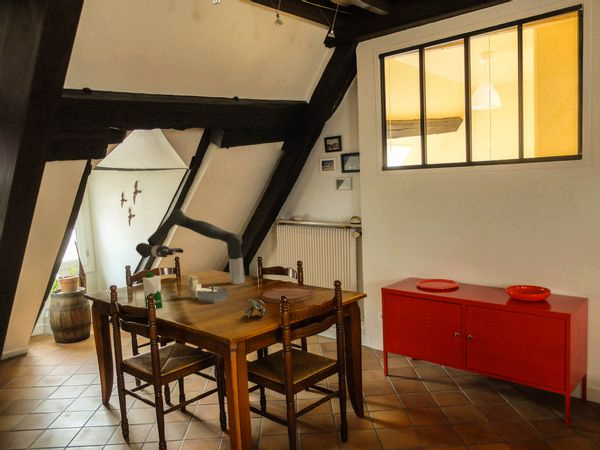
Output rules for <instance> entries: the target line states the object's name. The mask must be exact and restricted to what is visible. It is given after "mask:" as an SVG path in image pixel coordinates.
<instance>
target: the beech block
mask: <svg viewBox="0 0 600 450" xmlns="http://www.w3.org/2000/svg"><path fill="white" fill-rule="evenodd" d="M186 281H187V294H188V298H189V299H198V297H195V285H198V284H199V276H198V275H189V276H186Z"/></svg>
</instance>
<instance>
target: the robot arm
mask: <svg viewBox="0 0 600 450" xmlns="http://www.w3.org/2000/svg"><path fill="white" fill-rule="evenodd" d="M175 226H178V227H182V228H184V229H185V228H186V229H188V230H191V231H193V232H194V233H197V234H199V235H201V236H203V237H206V238H208V239H213V240H218V241H221V242H225V243H226V247H227V249H226V250H227V254H228V263H229V275H230V276H229V279H230V284H232V285H241V284H245V282H246V281H245V280H246V279H245V269H244V260H243V253H242V246H241V245H242V244H243V238H242V237H241V236H240V235H239V234H236V233H233V232H229V231H227V230H225V229H222V228H220V227H218V226H216V225H214V224H212V223H209V222H207V221H204V220H198V219H193V218H191V217H189V216H187V215H185V213H184V211H183V210H181V209H174V210H172V212H171V213H170V214H169V216H168V217H167V219H166V220H165V221H164V222H162V224H161V225H160V226H159V227H158V228H157V230H155V231H154V232H153V234H151V235H150V236H149V237H148V238H147V242H148V243H146V242H140V243H138V244H137V245H136V246H135V250H136V252H137V253H138V254H139V256H141V258H142V259H147V258H149V257H156V258H167V257H168V256H173V255H176V254H179V253H180V254H183V253H184V249H183V248H180V247H173V248H171V247H170V248H169V247H168V246H167V245H159V244H160V243H161V242H162V241H163V240H164V238H165V237H166V236H167V234H168V233H169V231H170V230H171V229H172V228H173V227H175Z"/></svg>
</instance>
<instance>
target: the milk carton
mask: <svg viewBox="0 0 600 450" xmlns="http://www.w3.org/2000/svg"><path fill="white" fill-rule="evenodd" d="M161 279H162V278H161V276H157V275H154V273H153V272H148V273H147V272H146V273H145V277H142V282H143V292H144V303H145V308H146V307H147V296H148V295H149V294H153V295H154V300H155V305H156V309H155V310H158V309H163V308H162V307H163V298H162V288H161V285H162V284H161V281H162V280H161ZM157 308H158V309H157Z"/></svg>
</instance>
